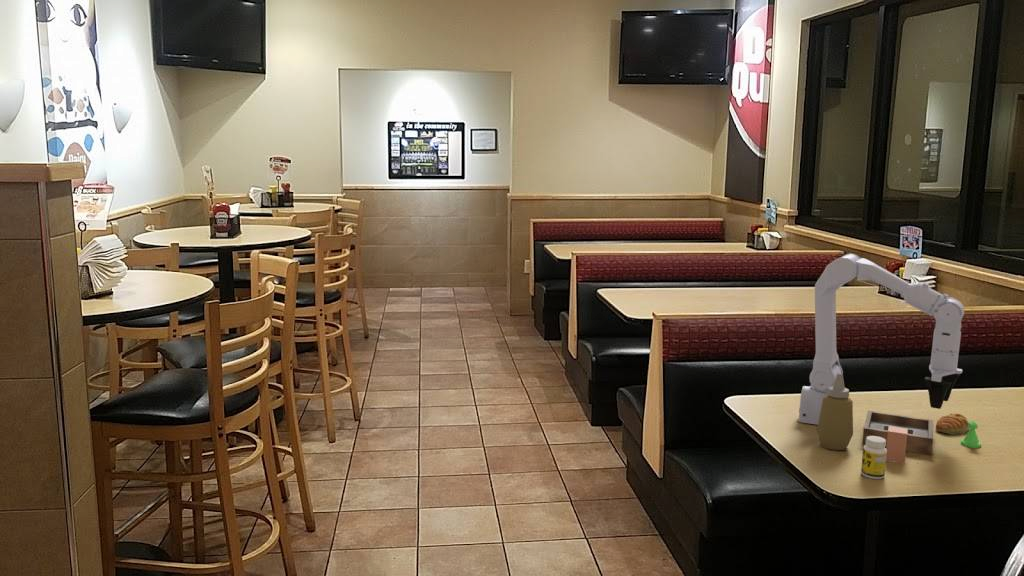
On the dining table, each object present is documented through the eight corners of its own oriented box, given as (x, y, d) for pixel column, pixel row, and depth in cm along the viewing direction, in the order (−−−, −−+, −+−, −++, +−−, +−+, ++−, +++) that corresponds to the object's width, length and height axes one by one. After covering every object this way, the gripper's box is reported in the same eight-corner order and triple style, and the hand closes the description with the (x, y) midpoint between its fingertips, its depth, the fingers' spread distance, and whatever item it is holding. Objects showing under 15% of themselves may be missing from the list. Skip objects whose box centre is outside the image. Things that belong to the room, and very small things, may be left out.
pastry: (955, 438, 203) (957, 423, 202) (927, 431, 208) (929, 416, 208) (971, 430, 209) (973, 416, 208) (944, 423, 214) (945, 409, 213)
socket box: (862, 443, 198) (863, 428, 197) (866, 425, 211) (868, 410, 210) (931, 455, 191) (933, 438, 190) (931, 435, 204) (933, 420, 204)
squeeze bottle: (850, 442, 198) (857, 371, 195) (852, 454, 191) (859, 380, 188) (815, 438, 201) (821, 367, 198) (816, 450, 193) (822, 376, 190)
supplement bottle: (856, 471, 181) (860, 435, 180) (877, 470, 182) (880, 434, 180) (867, 479, 176) (871, 442, 175) (888, 479, 177) (892, 442, 175)
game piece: (982, 448, 196) (985, 425, 195) (962, 446, 197) (965, 422, 196) (978, 442, 200) (981, 419, 199) (959, 440, 201) (961, 417, 200)
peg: (885, 460, 188) (888, 431, 187) (886, 454, 191) (888, 425, 190) (904, 463, 186) (907, 434, 185) (904, 457, 190) (907, 428, 188)
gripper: (957, 358, 187) (951, 415, 189) (970, 346, 198) (963, 400, 200) (924, 352, 191) (918, 408, 193) (938, 341, 202) (932, 394, 205)
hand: (939, 404), depth 197 cm, fingers open, 7 cm apart
